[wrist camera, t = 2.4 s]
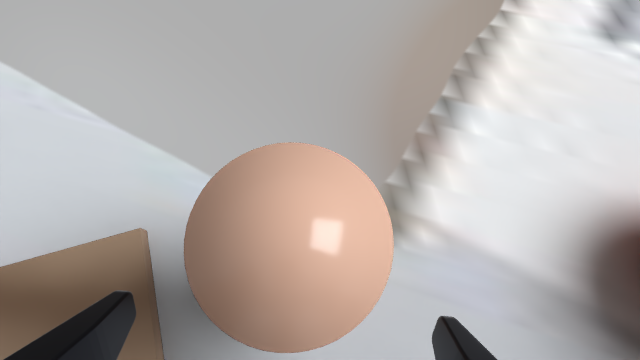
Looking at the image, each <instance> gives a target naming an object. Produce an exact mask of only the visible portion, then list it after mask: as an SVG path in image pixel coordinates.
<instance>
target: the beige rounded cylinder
mask: <svg viewBox="0 0 640 360" xmlns="http://www.w3.org/2000/svg"><path fill="white" fill-rule="evenodd" d="M393 249H394V241H393V230H392V225H391V219H390V216H389V213H388V210H387V207H386V205H385V203H384V200H383V198H382V196H381V194H380V193H379V191H378V190H377V188H376V187H375V185H374V184H373V182H372V181H371V180H370V179H369V178H368V176H367V175H366V174H365V173H364V172H363V171H362V170H361V169H360V168H359V167H357V166H356V165H355V164H354V163H352V162H351V161H349V160H348V159H347V158H345V157H343V156H341V155H339V154H338V153H336V152H333V151H331V150H328V149H326V148H323V147H319V146H316V145H311V144H304V143H291V142H290V143H277V144H272V145H267V146H263V147H260V148H257V149H254V150H251V151H249V152H247V153H245V154H243V155H241V156H239V157H237V158H236V159H234V160H232V161H231V162H229V163H228V164H227V165H226V166H224V167H223V168H222V169H221V170H219V172H218V173H216V174H215V175H214V176H213V177H212V178H211V180H210V181H209V182H208V183H207V185H206V186H205V187H204V188H203V190H202V192H201V193H200V195H199V197H198V198H197V200H196V202H195V204H194V206H193V209H192V211H191V213H190V216H189V220H188V223H187V226H186V232H185V238H184V261H185V269H186V273H187V277H188V282H189V284H190V287H191V289H192V292H193V294H194V296H195V298H196V300H197V302H198V303H199V305H200V307H201V309H202V310H203V311H204V312H205V314H206V315H207V316H208V317H209V319H210V320H211V321H212V322H213V323H214V324H215V325H216V326H217V327H218V328H220V329H221V330H222V331H223V332H225V333H226V334H228V335H229V336H230V337H232V338H233V339H235V340H237V341H239V342H241V343H243V344H245V345H247V346H250V347H253V348H256V349H260V350H263V351H270V352H276V353H296V352H303V351H309V350H313V349H316V348H319V347H323V346H325V345H327V344H330V343H332V342H334V341H336V340H338V339H340V338H341V337H343V336H344V335H346V334H347V333H349V332H350V331H351V330H353V329H354V328H355V327H356V326H357V325H359V324H360V323H361V322H362V321H363V320H364V319H365V317H366V316H367V315H368V314H369V313H370V312H371V310H372V309H373V308H374V306H375V305H376V303H377V302H378V300H379V298H380V296H381V294H382V292H383V290H384V288H385V286H386V283H387V280H388V278H389V275H390V271H391V266H392V261H393Z"/></svg>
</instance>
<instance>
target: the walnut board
mask: <svg viewBox="0 0 640 360" xmlns="http://www.w3.org/2000/svg"><path fill="white" fill-rule="evenodd" d="M117 290H121V291H130V292H131V293H132V294H133V298H134V303H135V307H136V318H135V321H134V323H133V325H132V327H131V330H130V332H129V334H128V336H127V338H126V340H125V343H124V345H123V347H122V349H121V351H120V354H119V356H118V358H117V360H164V355H163V348H162V340H161V333H160V325H159V318H158V311H157V303H156V296H155V288H154V281H153V273H152V266H151V258H150V251H149V243H148V236H147V231H146V230H144V229H141V228H139V229H135V230H132V231H128V232H125V233H121V234H117V235H114V236H110V237H107V238H103V239H100V240H96V241H92V242H89V243H85V244H82V245H78V246H75V247H71V248H67V249H64V250H60V251H57V252H53V253H49V254H46V255H42V256H39V257H35V258H32V259H28V260H24V261H21V262H17V263H14V264H10V265H7V266H3V267H0V360H3V359H5V358H6V357H8V356H10V355H11V354H13V353H14V352H16V351H18V350H19V349H21V348H23V347H24V346H26V345H27V344H29V343H31V342H32V341H34V340H36V339H37V338H39V337H40V336H42V335H44V334H45V333H47V332H49V331H50V330H52V329H53V328H55V327H57V326H58V325H60V324H62V323H63V322H65V321H66V320H68V319H70V318H71V317H73V316H75V315H76V314H78V313H79V312H81V311H83V310H84V309H86V308H88V307H89V306H91V305H92V304H94V303H96V302H97V301H99V300H101V299H102V298H104V297H105V296H107V295H109V294H110V293H112V292H114V291H117Z"/></svg>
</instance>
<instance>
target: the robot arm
mask: <svg viewBox="0 0 640 360" xmlns="http://www.w3.org/2000/svg"><path fill="white" fill-rule="evenodd" d="M135 318H136V307H135V303H134V298H133V294H132V293H131V292H130V291H121V290H117V291H114V292H112V293H110V294H109V295H107V296H105V297H104V298H102V299H101V300H99V301H97V302H96V303H94V304H92V305H91V306H89V307H88V308H86V309H84V310H83V311H81V312H79V313H78V314H76V315H75V316H73V317H71V318H70V319H68V320H66V321H65V322H63V323H62V324H60V325H58V326H57V327H55V328H53V329H52V330H50V331H49V332H47V333H45V334H44V335H42V336H40V337H39V338H37V339H36V340H34V341H32V342H31V343H29V344H27V345H26V346H24V347H23V348H21V349H19V350H18V351H16V352H14V353H13V354H11V355H10V356H8V357H6V358H5V359H3V360H117V358H118V356H119V354H120V351H121V349H122V347H123V345H124V343H125V340H126V338H127V336H128V334H129V332H130V330H131V327H132V325H133V323H134V321H135ZM432 344H433V349H434V354H435V359H436V360H497V359H496V358H495V357H494V356H493V355H492V354H491V353H490V352H489V351H488V350H487V349H486V348H485V347H484V346H483V345H482V344H481V343H480V342H479V341H478V340H477V339H476V338H475V337H474V336H473V335H472V334H471V333H470V332H469V331H468V330H467V329H466V328H465V327H464V326H463V325H462V324H461V323H460V322H459V321H458V320H457V319H455V318H454V317H449V316H440V317H439V318H438V320H437V323H436V326H435V329H434V331H433V334H432Z"/></svg>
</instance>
